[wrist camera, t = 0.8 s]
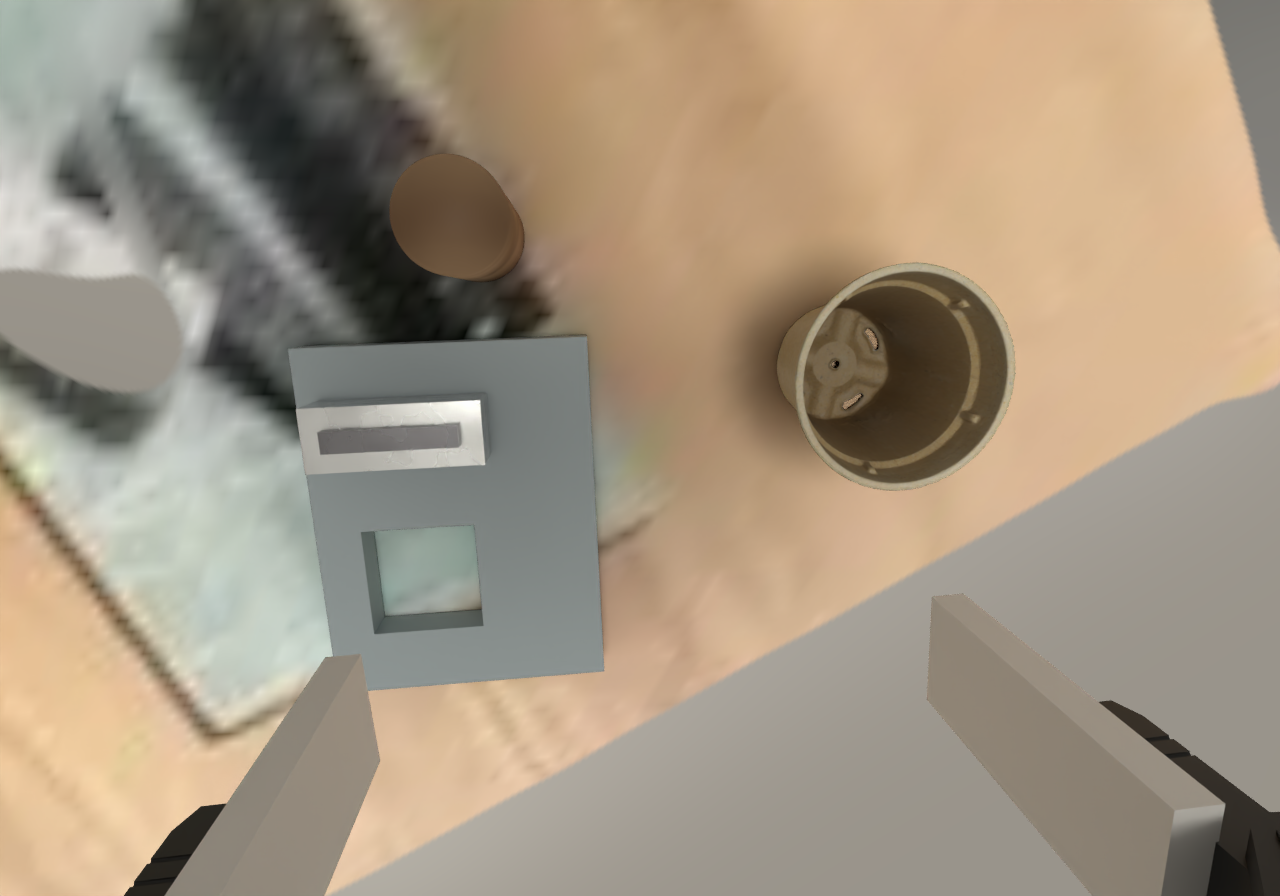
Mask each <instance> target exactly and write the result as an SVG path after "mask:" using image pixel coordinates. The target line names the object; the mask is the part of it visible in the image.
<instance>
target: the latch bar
mask: <svg viewBox="0 0 1280 896" xmlns="http://www.w3.org/2000/svg"><path fill="white" fill-rule="evenodd" d="M296 415H297V422H298V429H299V435H300V442H301V449H302V456H303V462H304V469H305V475H310V474H328V473H346V472H364V471H382V470H400V469H418V468H436V467H454V466H471V465H485V464H486V463H487V461H488V459H489V457H490V455H491V454H492V448H491V436H490V424H489V413H488V401H487V393H473V394H452V395H431V396H409V397H388V398H367V399H345V400H324V401H315V402H313V403H310V404H307V405H305V406H302V407H299V408H297V409H296Z"/></svg>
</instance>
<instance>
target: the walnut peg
mask: <svg viewBox="0 0 1280 896" xmlns="http://www.w3.org/2000/svg"><path fill="white" fill-rule="evenodd" d="M389 210H390V221H391V227H392V230H393V233H394V235H395V238H396V240H397V242H398V244H399V245H400V247H401V248H402V250H403V251H404V252H405V254H406V255H407V256H408V257H409V258H410V259H411V260H412V261H414V262H415V263H416V264H417V265H419V266H421V267H422V268H424V269H426V270H428V271H430V272H432V273H436V274H439V275H444V276H449V277H454V278H459V279H464V280H469V281H475V282H489V281H493V280H496V279H499V278H501V277H503V276H505V275H506V274H507V273H509V272H510V271H511V270H512V269H513V268H514V267H515V265H516V264H517V263H518V261H519V259H520V257H521V255H522V252H523V248H524V229H523V225H522V222H521V219H520V217H519V215H518V213H517V211H516V210H515V208H514V207H513V205H512V204H511V202H510V201H509V199H508V198H507V196H506V195H505V193H504V192H503V190H502V189H501V187H500V186H499V184H498V183H497V181H496V180H495V179H494V177H493V176H492V175H491V174H490V173H489V172H488V171H487V170H486V169H484V168H483V167H482V166H481V165H479V164H478V163H476V162H474V161H472V160H470V159H468V158H465V157H462V156H459V155H454V154H436V155H432V156H428V157H425V158H423V159H420V160H419V161H417V162H415V163H414V164H412V165H411V166H410V167H408V168H407V169H406V170H405V171H404V172H403V174H402V175H401V176H400V178H399V179H398V181H397V183H396V185H395V187H394V189H393V192H392V195H391V200H390V209H389Z"/></svg>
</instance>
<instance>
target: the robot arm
mask: <svg viewBox="0 0 1280 896" xmlns="http://www.w3.org/2000/svg"><path fill="white" fill-rule="evenodd" d="M928 666H929V667H928V686H927V700H928V701H929V703H930V704H931V705H932V706H933V707H934V709H935V710H936V711H937V712H938V713H939V715H941V717H942V718H943V719H944V720H945V722H946V723H947V724H948V725H949V726H950V728H951V729H952V730H953V731H954V732H955V734H956V735H957V736H958V737H959V738H960V739H961V741H962V742H963V743H964V744H965V745H966V747H967V748H968V749H969V750H970V751H971V752H972V754H973V755H974V756H975V757H976V758H977V760H978V761H979V762H980V763H981V764H982V766H983V767H984V768H985V769H986V770H987V771H988V773H989V774H990V775H991V776H992V777H993V779H994V780H995V781H996V782H997V783H998V785H1000V787H1001V788H1002V789H1003V791H1004V792H1005V793H1006V794H1007V795H1008V796H1009V798H1010V799H1011V800H1012V801H1013V802H1014V803H1015V805H1016V806H1017V807H1018V808H1019V809H1020V811H1021V812H1022V813H1023V814H1024V815H1025V817H1026V818H1027V819H1028V820H1029V821H1030V823H1031V824H1032V825H1033V826H1034V827H1035V828H1036V829H1037V831H1038V832H1039V833H1040V834H1041V835H1042V837H1043V838H1044V839H1045V840H1046V841H1047V843H1048V844H1049V845H1050V846H1051V847H1052V849H1053V850H1054V851H1055V852H1056V853H1057V855H1058V856H1059V857H1060V858H1061V859H1062V860H1063V862H1064V863H1065V864H1066V865H1067V866H1068V868H1069V869H1070V870H1071V871H1072V872H1073V874H1074V875H1075V876H1076V877H1077V878H1078V880H1079V881H1080V882H1081V883H1082V884H1083V885H1084V886H1085V888H1086V889H1087V890H1088V891H1089V893H1090V894H1091V895H1092V896H1280V812H1268V811H1267V810H1266V809H1265V808H1263V807H1262V806H1260V805H1259V804H1258V803H1257V802H1255V801H1254V800H1252V799H1251V798H1250V797H1249V796H1247V795H1246V794H1245V793H1244V792H1242V791H1241V790H1240V789H1238V788H1237V787H1236V786H1234V785H1233V784H1232V783H1230V782H1229V781H1228V780H1226V779H1225V778H1224V777H1223V776H1221V775H1220V774H1219V773H1217V772H1216V771H1215V770H1213V769H1212V768H1211V767H1209V766H1208V765H1207V764H1206V763H1204V762H1203V761H1202V760H1200V759H1199V758H1198V757H1196V756H1195V755H1194V756H1191V755H1190V753H1189V751H1188V750H1187V749H1186V748H1184V747H1183V746H1182V745H1181V744H1179V743H1178V742H1177V741H1175V740H1174V739H1171V740H1170V738H1169V735H1167V734H1166V733H1165V732H1163V731H1162V730H1161V729H1160V728H1158V727H1157V726H1156V725H1154V724H1153V723H1151V722H1150V721H1149V720H1148V719H1146V718H1145V717H1144V716H1142V715H1140V714H1138V713H1136V712H1134V711H1132V710H1130V709H1128V708H1126V707H1123V706H1122V705H1120V704H1117V703H1115V702H1113V701H1102V702H1098V701H1096V700H1095V699H1094V698H1092V697H1091V696H1090V695H1089V694H1087V693H1086V692H1085V691H1084V690H1083V689H1081V688H1080V687H1079V686H1078V685H1076V684H1075V683H1074V682H1073V681H1071V680H1070V679H1069V678H1068V677H1066V676H1065V675H1064V674H1063V673H1061V672H1060V671H1059V670H1058V669H1057V668H1055V667H1054V666H1053V665H1052V664H1050V663H1049V662H1048V661H1046V660H1045V659H1044V658H1043V657H1042V656H1040V655H1039V654H1038V653H1037V652H1035V651H1034V650H1033V649H1032V648H1030V647H1029V646H1028V645H1027V644H1025V643H1024V642H1023V641H1022V640H1020V639H1019V638H1018V637H1017V636H1015V635H1014V634H1013V633H1012V632H1010V631H1009V630H1008V629H1007V628H1005V627H1004V626H1003V625H1002V624H1000V623H999V622H998V621H996V620H995V619H994V618H993V617H991V616H990V615H989V614H988V613H987V612H985V611H984V610H983V609H982V608H980V607H979V606H978V605H977V604H975V603H974V602H973V601H972V600H970V599H969V598H968V597H967V596H965V595H964V594H954V595H944V596H934V597H932V605H931V626H930V645H929V665H928ZM379 762H380V757H379V751H378V746H377V740H376V734H375V729H374V723H373V718H372V712H371V707H370V701H369V695H368V690H367V684H366V679H365V673H364V668H363V662H362V657H361V654H355V655H345V656H335V657H325V659H324V660H323V662H322V663H321V665H320V666H319V668H318V669H317V671H316V672H315V674H314V675H313V677H312V678H311V680H310V681H309V682H308V684H307V685H306V687H305V688H304V690H303V691H302V693H301V694H300V696H299V697H298V699H297V700H296V702H295V703H294V705H293V706H292V708H291V709H290V711H289V712H288V714H287V715H286V717H285V718H284V719H283V721H282V722H281V724H280V725H279V727H278V728H277V730H276V731H275V733H274V734H273V736H272V737H271V739H270V740H269V742H268V743H267V745H266V746H265V748H264V749H263V751H262V752H261V754H260V755H259V757H258V758H257V759H256V761H255V762H254V764H253V765H252V767H251V768H250V770H249V771H248V773H247V774H246V776H245V777H244V779H243V780H242V782H241V783H240V785H239V786H238V788H237V789H236V791H235V792H234V794H233V795H232V797H231V798H230V799H229V801H228V802H227V804H219V805H210V806H201V807H200V808H199V809H198V810H196V811H195V812H194V813H193V814H192V815H190V816H189V817H188V818H187V819H186V820H184V821H183V822H182V823H181V824H180V825H178V826H177V827H176V828H175V829H174V830H172V831H171V833H170V834H169V835H168V837H167V838H166V839H165V841H164V842H163V843H162V845H161V846H160V847H159V849H158V850H157V851H156V853H155V854H154V855H153V857H152V858H151V863H150V864H147V865H146V866H145V868H144V869H143V870H142V872H141V873H140V874H139V876H138V877H137V878H136V880H135V881H134V886H133V887H130V888H129V889H128V891H127V892H126V893H125V895H124V896H324V895H325V893H326V890H327V888H328V885H329V883H330V881H331V878H332V876H333V873H334V871H335V868H336V866H337V864H338V861H339V859H340V856H341V854H342V852H343V849H344V847H345V844H346V842H347V839H348V837H349V835H350V832H351V830H352V827H353V825H354V823H355V820H356V818H357V815H358V813H359V810H360V808H361V806H362V803H363V801H364V798H365V796H366V794H367V791H368V789H369V786H370V784H371V781H372V779H373V777H374V774H375V772H376V769H377V767H378V765H379Z"/></svg>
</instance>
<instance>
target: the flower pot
mask: <svg viewBox="0 0 1280 896" xmlns="http://www.w3.org/2000/svg"><path fill="white" fill-rule="evenodd" d="M867 328H870V329H871V330H872V331H873V332H874V333H875V335H876V337H877V339H878V342H879V343H878V349H877V350H875V349H874V347H873V345H872V343H871V341H870V339H869V337H868V335H867V334H866V333H865V330H866V329H867ZM1012 342H1013V341H1012V338H1011V335H1010V332H1009V329H1008V325H1007V323H1006V322H1005V320H1004V318H1003V316H1002V314H1001V313H1000V311H999V309H998V307H997V306H996V305H995V303H994V302H993V301H992V299H991V298H990V297H989V296H988V295H987V294H986V292H985V291H983V290H982V289H981V288H980V287H979V286H978V285H977V284H975V283H974V282H973V281H971V280H970V279H969V278H967V277H965V276H963V275H961V274H960V273H958V272H956V271H954V270H951V269H948V268H945V267H941V266H937V265H933V264H926V263H904V264H897V265H893V266H888V267H884V268H880V269H878V270H875V271H873V272H870V273H868V274H866V275H863V276H862V277H860V278H858V279H856V280H854V281H853V282H851V283H850V284H848V285H847V286H845V287H844V288H843V289H842V290H841V291H839V292H838V293H837V294H836V295H835V296H834V297H832V299H831V300H830V301H829V302H828V303H827V304H826V305H825V306H822V307H819V308H816V309H814V310H812V311H810V312H808V313H806V314H805V315H803V316H802V317H801V318H800V319H798V320H797V321H796V322H795V323H794V324H793V325H792V327H791V328H790V329H789V330H788V332H787V333H786V335H785V337H784V339H783V342H782V345H781V347H780V351H779V355H778V360H777V376H778V381H779V384H780V387H781V390H782V392H783V394H784V396H785V398H786V399H787V400H788V402H789V403H790V404H791V405H792V406H793V407H794V408H795V409H796V410H797V414H798V418H799V421H800V424H801V427H802V429H803V432H804V434H805V436H806V438H807V440H808V442H809V443H810V445H811V446H812V448H813V449H814V451H815V452H816V453H817V454H818V455H819V457H820V458H821V459H822V460H823V461H824V462H825V463H826V464H827V465H828V466H830V467H831V468H832V469H833V470H834V471H836V472H837V473H838V474H840V475H841V476H843V477H845V478H847V479H848V480H850V481H853V482H855V483H858V484H860V485H862V486H866V487H870V488H874V489H880V490H889V491H897V490H910V489H915V488H920V487H923V486H926V485H928V484H932V483H935V482H938V481H940V480H941V479H944V478H946V477H947V476H950V475H951V474H953V473H955V472H956V471H958V470H959V469H960V468H962V467H963V466H965V465H966V464H967V463H968V462H970V461H971V460H972V459H973V458H974V457H975V456H977V455H978V454H979V452H980V451H981V450H982V449H983V448H984V447H985V446H986V444H987V443H988V442H989V441H990V440H991V438H992V437H993V435H994V434H995V432H996V430H997V428H998V426H999V425H1000V424H1001V421H1002V419H1003V417H1004V415H1005V414H1006V411H1007V408H1008V406H1009V402H1010V399H1011V395H1012V391H1013V385H1014V379H1015V374H1016V373H1015V352H1014V346H1013V343H1012ZM834 361H838V362H839V366H838V367H837V368H834V367H832V363H833V362H834ZM860 393H861V394H862V395H863V397H861V398H860V399H859V401H858V402H857V403H855V404H854V405H853V406H851V407H850V408H848V409H844V408H843V403H844V402H845V401H847V400H850V399H852V398H853V397H855V396H856V395H858V394H860Z"/></svg>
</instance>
